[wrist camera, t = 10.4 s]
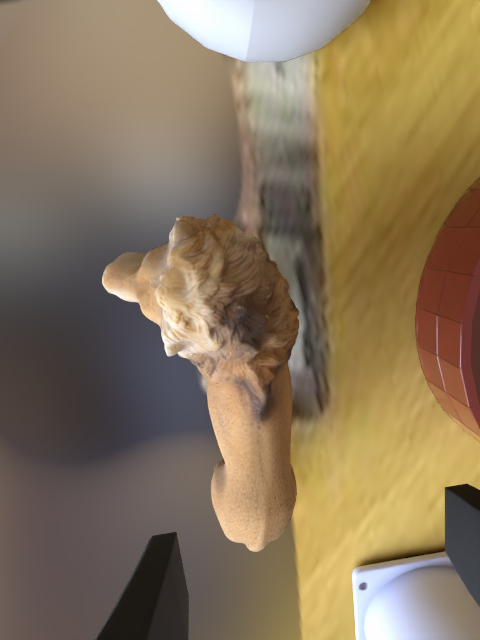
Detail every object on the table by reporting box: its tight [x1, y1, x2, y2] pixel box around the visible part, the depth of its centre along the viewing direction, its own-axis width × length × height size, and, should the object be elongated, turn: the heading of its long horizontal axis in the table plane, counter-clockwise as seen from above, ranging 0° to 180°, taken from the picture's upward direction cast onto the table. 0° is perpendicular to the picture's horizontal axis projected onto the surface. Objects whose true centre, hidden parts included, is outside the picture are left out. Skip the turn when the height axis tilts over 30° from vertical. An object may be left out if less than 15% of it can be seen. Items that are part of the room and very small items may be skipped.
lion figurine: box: [102, 214, 299, 552], centre depth 14 cm, size 15×5×9 cm, turn 15°
